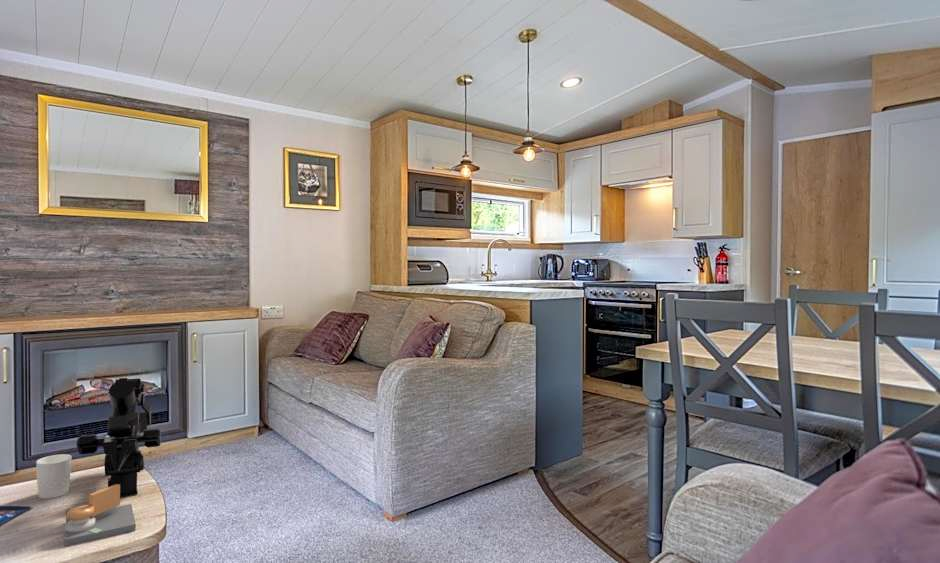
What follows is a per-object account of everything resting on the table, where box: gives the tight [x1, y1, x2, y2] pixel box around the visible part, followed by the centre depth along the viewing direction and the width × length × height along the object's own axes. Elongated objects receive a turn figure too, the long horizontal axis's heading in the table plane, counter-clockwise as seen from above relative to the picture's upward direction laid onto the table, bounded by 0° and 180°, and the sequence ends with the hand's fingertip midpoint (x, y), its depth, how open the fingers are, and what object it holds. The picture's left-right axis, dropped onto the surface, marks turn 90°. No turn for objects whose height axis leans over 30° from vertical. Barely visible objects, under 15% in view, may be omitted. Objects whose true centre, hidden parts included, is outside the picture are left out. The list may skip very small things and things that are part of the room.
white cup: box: [35, 453, 73, 500], centre depth 148 cm, size 8×8×10 cm
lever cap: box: [66, 484, 121, 520], centre depth 130 cm, size 12×5×5 cm, turn 162°
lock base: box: [64, 503, 137, 547], centre depth 130 cm, size 14×14×4 cm
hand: (116, 470), depth 137 cm, fingers closed
